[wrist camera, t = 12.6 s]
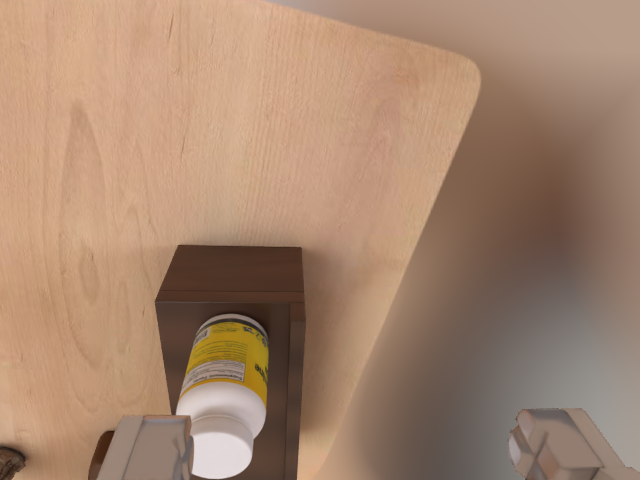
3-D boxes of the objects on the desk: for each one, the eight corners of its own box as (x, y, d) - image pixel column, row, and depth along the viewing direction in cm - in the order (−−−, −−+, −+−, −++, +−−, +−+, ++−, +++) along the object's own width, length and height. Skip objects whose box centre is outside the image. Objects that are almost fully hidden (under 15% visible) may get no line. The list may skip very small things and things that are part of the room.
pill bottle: (266, 367, 40) (260, 487, 30) (195, 364, 39) (166, 486, 29) (272, 312, 37) (267, 426, 27) (195, 307, 36) (163, 423, 26)
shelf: (178, 245, 43) (145, 320, 33) (301, 247, 44) (305, 321, 34) (198, 434, 57) (180, 528, 47) (292, 433, 58) (294, 524, 48)
